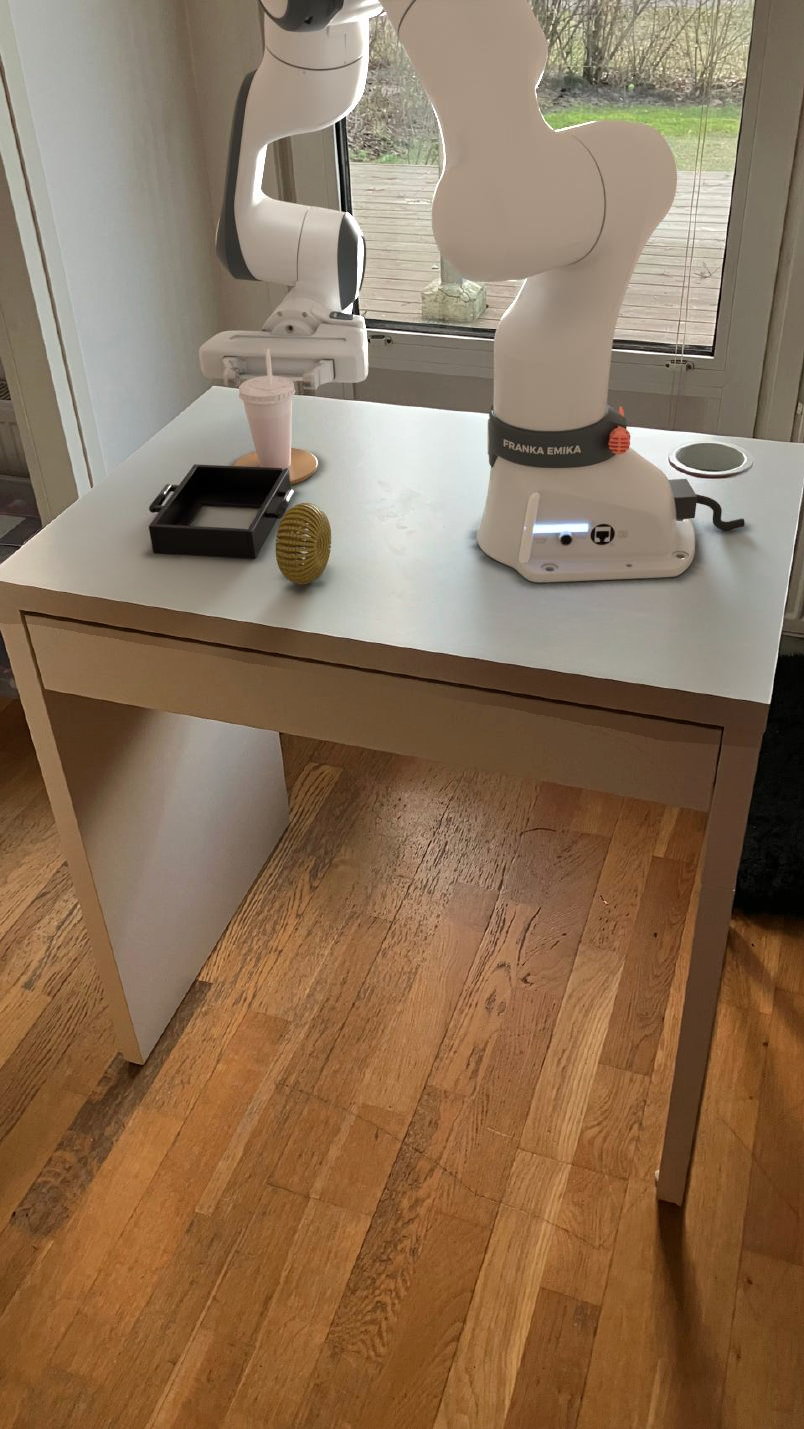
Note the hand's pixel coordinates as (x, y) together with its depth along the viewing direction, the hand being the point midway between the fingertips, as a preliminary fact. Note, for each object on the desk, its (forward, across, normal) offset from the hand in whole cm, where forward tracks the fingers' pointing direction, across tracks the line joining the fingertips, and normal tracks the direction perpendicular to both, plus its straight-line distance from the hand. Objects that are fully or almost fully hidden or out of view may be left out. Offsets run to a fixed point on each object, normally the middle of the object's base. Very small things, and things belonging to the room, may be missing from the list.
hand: (269, 381), depth 136 cm
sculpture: (+26, +10, +10) cm, 30 cm away
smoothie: (+1, 0, +10) cm, 10 cm away
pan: (+15, -2, +10) cm, 19 cm away
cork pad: (+2, 0, +10) cm, 10 cm away
